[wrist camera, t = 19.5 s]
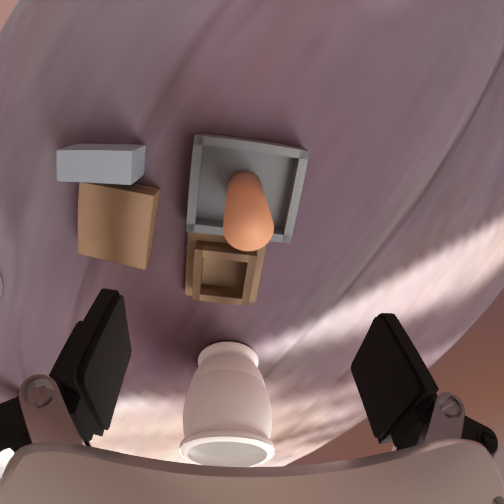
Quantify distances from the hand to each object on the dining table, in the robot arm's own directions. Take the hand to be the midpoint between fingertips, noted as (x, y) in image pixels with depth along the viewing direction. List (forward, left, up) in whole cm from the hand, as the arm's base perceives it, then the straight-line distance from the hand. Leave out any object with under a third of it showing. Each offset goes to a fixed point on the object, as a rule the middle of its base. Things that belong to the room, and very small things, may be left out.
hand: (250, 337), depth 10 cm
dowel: (0, 0, -19) cm, 19 cm away
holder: (-1, -9, -20) cm, 22 cm away
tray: (0, 0, -20) cm, 20 cm away
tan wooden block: (-12, -5, -21) cm, 25 cm away
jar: (+1, -24, -21) cm, 32 cm away
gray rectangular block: (-14, +2, -20) cm, 25 cm away
